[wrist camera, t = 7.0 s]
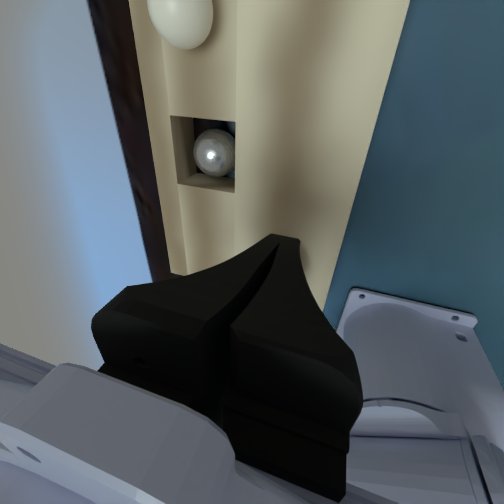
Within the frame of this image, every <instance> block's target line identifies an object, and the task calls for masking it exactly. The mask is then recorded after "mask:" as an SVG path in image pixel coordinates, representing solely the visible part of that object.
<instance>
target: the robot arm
mask: <svg viewBox="0 0 504 504" xmlns="http://www.w3.org/2000/svg"><path fill="white" fill-rule="evenodd" d="M300 243H301V241H300V240H299V239H297V238H292V237H287V236H282V235H277V234H272V233H271V234H269V235H267V236H266V237H264V238H263V239H261V240H260V241H259V242H257V243H256V244H254V245H253V246H251V247H249V248H248V249H246V250H245V251H243V252H241V253H239V254H238V255H236V256H234V257H232V258H230V259H228V260H226V261H224V262H222V263H220V264H217V265H215V266H213V267H210V268H207V269H204V270H201V271H198V272H195V273H192V274H189V275H186V276H182V277H178V278H174V279H169V280H165V281H159V282H154V283H147V284H141V285H133V286H127V287H126V288H124V290H122V291H121V292H120V293H119V294H118V295H116V296H115V297H114V298H113V299H112V300H111V301H110V302H109V303H107V304H106V305H105V306H104V307H103V308H102V309H101V310H100V311H99V312H98V313H96V314H95V315H94V317H93V318H92V323H91V330H92V333H93V337H94V339H95V341H96V344H97V346H98V348H99V351H100V353H101V355H102V357H103V360H104V362H105V363H104V364H103V365H102V366H101V367H100V369H99V370H98V371H95V370H92V369H90V368H87V367H85V366H80V365H76V364H71V363H63V364H59V365H58V366H55V365H52V364H50V363H47V362H45V361H42V360H40V359H37V358H35V357H32V356H30V355H27V354H25V353H22V352H20V351H17V350H15V349H13V348H10V347H7V346H5V345H3V344H0V504H504V390H503V388H502V386H501V384H500V382H499V380H498V378H497V376H496V374H495V372H494V370H493V368H492V366H491V364H490V362H489V360H488V358H487V356H486V354H485V352H484V350H483V348H482V346H481V344H480V342H479V340H478V338H477V336H476V334H475V332H474V330H473V328H474V326H475V325H476V324H477V322H478V321H477V318H476V317H475V316H474V315H472V314H468V313H464V312H459V311H455V310H451V309H446V308H442V307H438V306H433V305H429V304H424V303H420V302H416V301H411V300H407V299H403V298H398V297H394V296H390V295H385V294H381V293H376V292H372V291H368V290H363V289H359V288H353V289H351V290H350V292H349V295H348V298H347V301H346V304H345V307H344V310H343V313H342V316H341V319H340V322H339V325H338V327H337V330H336V331H335V330H334V329H333V327H332V326H331V324H330V323H329V322H328V320H327V319H326V317H325V315H324V314H323V312H322V311H321V309H320V307H319V306H318V304H317V302H316V300H315V298H314V296H313V294H312V292H311V290H310V288H309V285H308V283H307V280H306V277H305V274H304V270H303V267H302V262H301V257H300ZM360 294H364V296H360ZM453 316H457V317H453ZM222 428H223V430H222Z"/></svg>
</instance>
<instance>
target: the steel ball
mask: <svg viewBox="0 0 504 504" xmlns="http://www.w3.org/2000/svg"><path fill="white" fill-rule="evenodd" d="M193 155H194V159H195V162H196V164H197V166H198V167H199V168H200V169H201V170H202V171H203V172H204V173H206V174H208V175H210V176H214V177H220V176H224V175H227V174H228V173H230V172H231V171H232V170H233V169H234V168H235V139H234V138H233V137H232V136H231V135H230V134H229V133H228V132H226V131H224V130H222V129H216V128H213V129H208V130H206V131H204V132H202V133H201V134H200V135H199V136H198V138H197V139H196V141H195V144H194V148H193Z"/></svg>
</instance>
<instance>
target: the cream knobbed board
mask: <svg viewBox="0 0 504 504" xmlns="http://www.w3.org/2000/svg"><path fill="white" fill-rule="evenodd" d="M409 3H410V0H212V5H213V22H212V27H211V30H210V32H209V35H208V36H207V38H206V39H205V41H204V42H203V43H202V44H201V45H199V46H198V47H196V48H193V49H187V50H186V49H179V48H176V47H174V46H172V45H170V44H169V43H168V42H166V41H165V40H164V39H163V38H162V37H161V36H160V35H159V33H158V32H157V30H156V29H155V27H154V25H153V23H152V21H151V18H150V15H149V11H148V5H147V0H129V5H130V12H131V18H132V25H133V31H134V37H135V44H136V50H137V57H138V63H139V69H140V76H141V82H142V89H143V95H144V101H145V108H146V114H147V121H148V127H149V133H150V140H151V146H152V153H153V159H154V165H155V172H156V178H157V185H158V191H159V197H160V204H161V210H162V217H163V223H164V229H165V236H166V242H167V249H168V255H169V261H170V268H171V272H172V273H175V274H179V275H183V276H186V275H189V274H192V273H195V272H198V271H201V270H204V269H207V268H210V267H213V266H215V265H217V264H220V263H222V262H224V261H226V260H228V259H230V258H232V257H234V256H236V255H238V254H239V253H241V252H243V251H245V250H246V249H248V248H249V247H251V246H253V245H254V244H256V243H257V242H259V241H260V240H261V239H263V238H264V237H266V236H267V235H269V234H271V233H272V234H277V235H282V236H287V237H292V238H297V239H299V240H300V241H301V243H300V257H301V262H302V267H303V270H304V274H305V277H306V280H307V283H308V285H309V288H310V290H311V292H312V294H313V296H314V298H315V300H316V302H317V304H318V306H319V307H320V309H321V311H323V308H324V305H325V301H326V298H327V294H328V291H329V287H330V284H331V280H332V276H333V273H334V269H335V266H336V262H337V259H338V255H339V252H340V248H341V244H342V241H343V237H344V234H345V230H346V227H347V223H348V220H349V216H350V212H351V209H352V205H353V202H354V198H355V195H356V191H357V188H358V184H359V180H360V177H361V173H362V170H363V166H364V163H365V159H366V156H367V152H368V148H369V145H370V141H371V138H372V134H373V131H374V127H375V123H376V120H377V116H378V113H379V109H380V106H381V102H382V99H383V95H384V91H385V88H386V84H387V81H388V77H389V74H390V70H391V67H392V63H393V59H394V56H395V52H396V49H397V45H398V42H399V38H400V35H401V31H402V27H403V24H404V20H405V17H406V13H407V10H408V6H409ZM193 118H204V119H214V120H224V121H234V122H236V135H235V179H234V178H227V177H221V176H220V177H214V176H210V175H208V174H201V173H197V167H196V162H195V159H194V155H193V148H194V144H195V138H194V123H193Z"/></svg>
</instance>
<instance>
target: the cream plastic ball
mask: <svg viewBox="0 0 504 504" xmlns="http://www.w3.org/2000/svg"><path fill="white" fill-rule="evenodd" d="M147 5H148V11H149V15H150V18H151V21H152V23H153V25H154V27H155V29H156V30H157V32H158V33H159V35H160V36H161V37H162V38H163V39H164V40H165V41H166V42H168V43H169V44H170V45H172V46H174V47H176V48H179V49H186V50H187V49H193V48H196V47H198V46H199V45H201V44H202V43H203V42H204V41H205V39H206V38H207V36H208V35H209V32H210V30H211V27H212V22H213V5H212V0H147Z"/></svg>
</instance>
